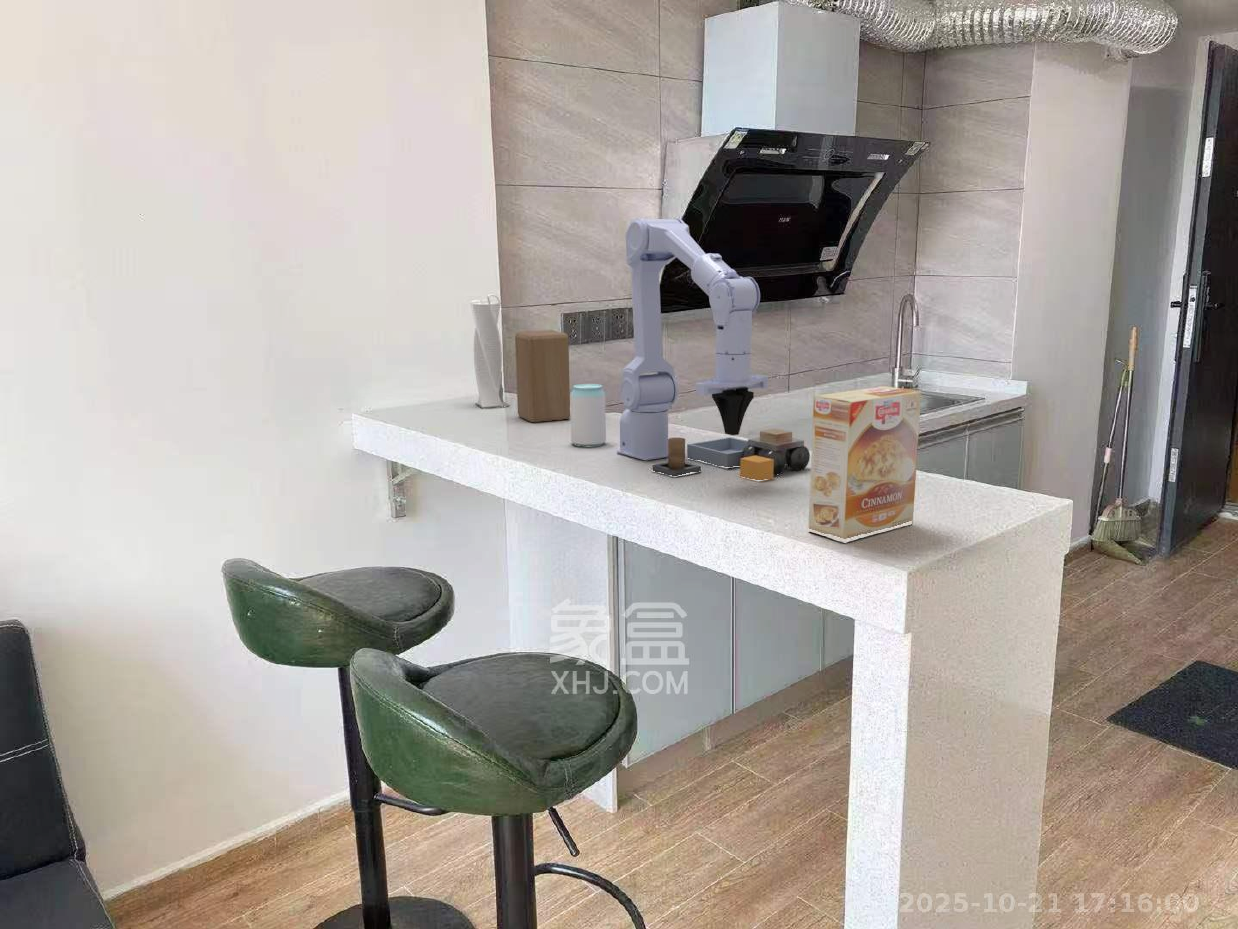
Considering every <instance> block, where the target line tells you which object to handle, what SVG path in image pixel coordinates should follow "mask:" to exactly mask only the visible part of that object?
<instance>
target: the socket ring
mask: <svg viewBox="0 0 1238 929" xmlns="http://www.w3.org/2000/svg"><path fill="white" fill-rule="evenodd" d="M651 469H652V470H653V471H655V472H661V473H664V474H667V475H672V476H678V475H682V474H686V473H690V472H699V471H701V472H702V466H701V465H698V464H695V463H690V462H687V461H685V468H681V469H676V470H674V469H671V468H668V461H667V462H662V463H661V462H660V463H655V464H652V468H651ZM655 472H654V473H655Z"/></svg>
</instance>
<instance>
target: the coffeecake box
mask: <svg viewBox="0 0 1238 929" xmlns="http://www.w3.org/2000/svg"><path fill="white" fill-rule="evenodd" d="M921 401H922V391H920V390H913V389H908V388H900V387H893V386H892V387H891V386H886V385H883V386H878V387H877V386H876V387H872V388H864V389H862V388H861V389H856V390H849V391H847V390H846V391H841V392H831V393H826V394H819V395H818V394H817V395H814V396H813V411H812V412H813V414H812V433H811V434H812V435H811V436H812V437H811V456H810V458H811V459H810V462H811V463H810V482H809V508H808V509H809V511H808V528H809V529H812V530H815V531H818V532H821V533H824V534H831V535H833V536H837V537H840V538H843V539H847V538H851V537H854V536H858V535H861V534H867V533H871V532H874V531H878V530H882V529H885V528H891V527H894V526H897V525H901V524H903V523H906V522H909V521H913V522H914V511H915V510H914V509H915V508H914V507H915V494H916V479H917V477H916V476H917V466H918V464H917V463H918V462H917V461H918V448H919V434H920V419H921V417H920V416H921V404H922V402H921ZM808 528H807V529H808Z"/></svg>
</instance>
